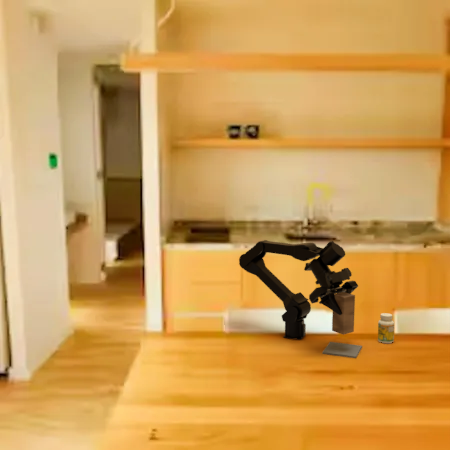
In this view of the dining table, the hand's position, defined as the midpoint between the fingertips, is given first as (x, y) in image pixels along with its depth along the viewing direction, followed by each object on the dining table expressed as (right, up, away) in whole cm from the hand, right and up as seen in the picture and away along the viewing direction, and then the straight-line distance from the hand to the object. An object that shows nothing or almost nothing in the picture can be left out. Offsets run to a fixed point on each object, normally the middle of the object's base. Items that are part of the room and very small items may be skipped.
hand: (346, 313), depth 194 cm
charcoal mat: (-1, -13, +3) cm, 13 cm away
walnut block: (-1, -6, +2) cm, 7 cm away
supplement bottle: (+16, -12, +12) cm, 24 cm away
